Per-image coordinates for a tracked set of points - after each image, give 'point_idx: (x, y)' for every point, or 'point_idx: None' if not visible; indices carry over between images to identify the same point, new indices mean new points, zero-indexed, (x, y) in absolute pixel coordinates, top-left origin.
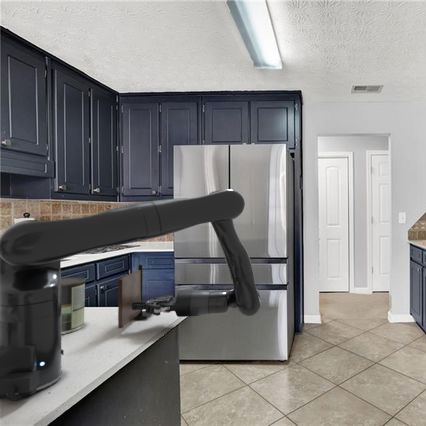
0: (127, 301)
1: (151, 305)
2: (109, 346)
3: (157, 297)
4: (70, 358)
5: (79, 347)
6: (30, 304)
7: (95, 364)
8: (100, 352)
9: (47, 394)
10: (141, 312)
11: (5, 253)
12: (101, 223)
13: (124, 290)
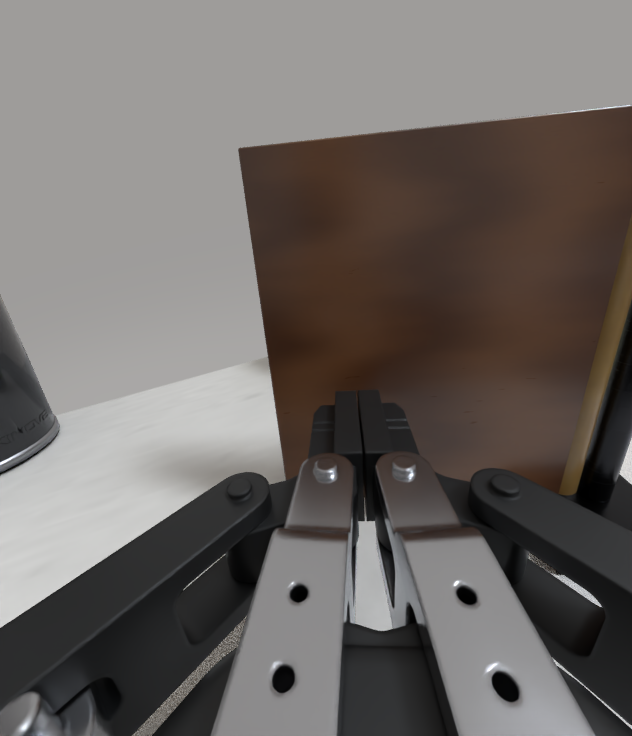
0: (354, 364)
1: (107, 564)
2: (133, 534)
3: (568, 509)
4: (106, 460)
5: (199, 446)
6: None
7: None
8: (80, 525)
9: None
10: (595, 496)
11: None
12: None
13: (295, 264)
